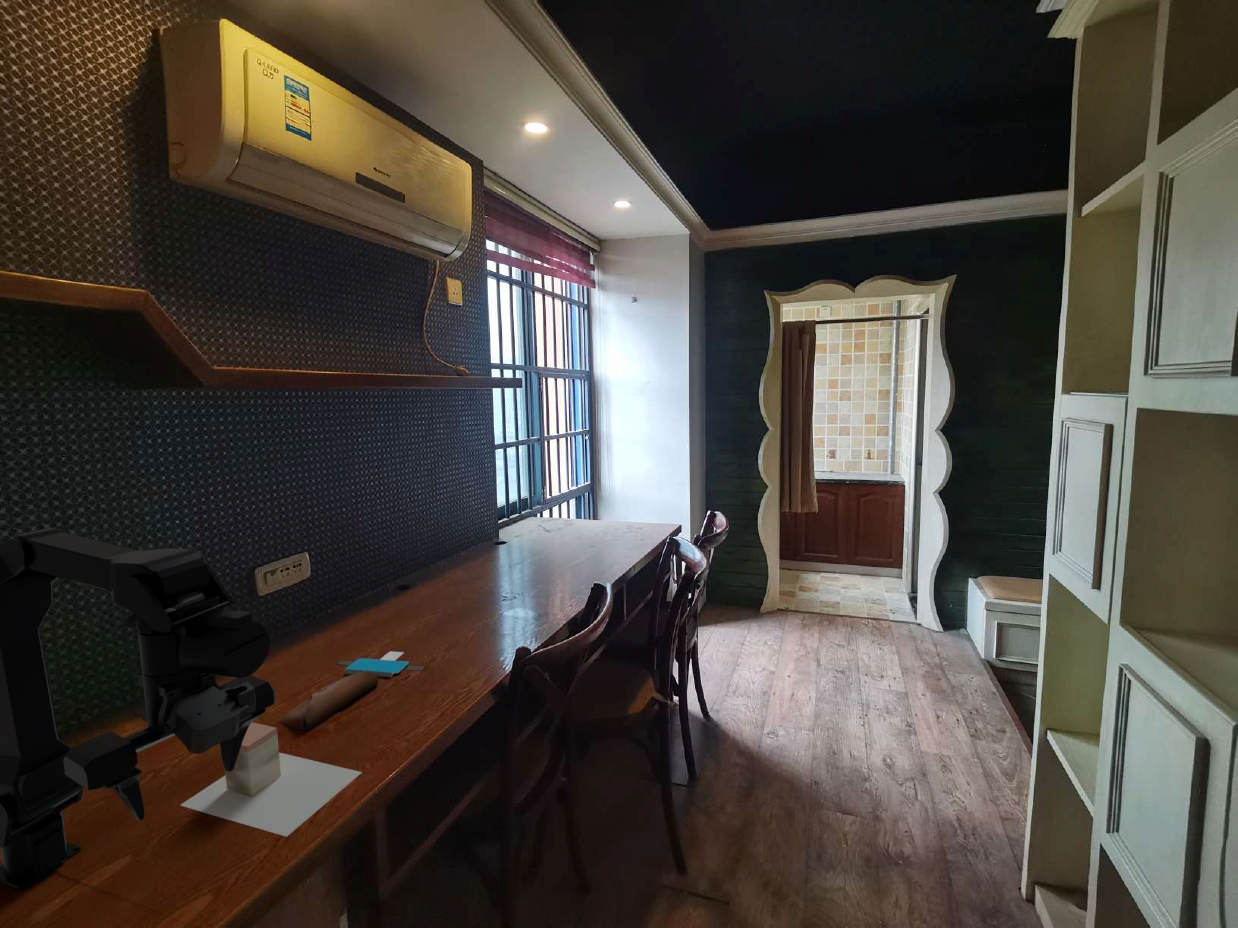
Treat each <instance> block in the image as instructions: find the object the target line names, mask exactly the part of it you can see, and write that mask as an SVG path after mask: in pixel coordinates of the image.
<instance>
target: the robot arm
mask: <svg viewBox="0 0 1238 928" xmlns="http://www.w3.org/2000/svg"><path fill="white" fill-rule="evenodd" d="M59 579H63V580H68V581H71V582H75V583H79V584H82V585H87V586H90V587H94V588H97V589H101V590H105V591H106V592H109V594H110V596H111V599H112V602H113V604H115V605H116V606H119V607H121V608H123V609H124V610H127V611H129V612H131V614H130V615H129V616H127V618H126V619H124V620H123V621H122V623H121V624H122V627H123V628H125V629H134V630H135V629H136V630H137V635H138V643H139V652H140V664H141V670H142V671H141V674H142V675H138V676H137V685H138V686H139V687H140V688H143V693H144V701H145V702H144V703H145V709H144V710H142V711H140V714H141V716H140V717H141V721H143V722H144V723H147V728H144V729H142V730H139V731H137V732H136V733H132V734H130V735H128V736H126V737H123V736H121V735H119V734H117V733H115V732H113V731H112V730H108V731H107V732H105V733H102V734H100V735H98V736H95V737H93V738H90V739H87V740H86V741H83V742H81V743H77V744H76V745H73V746H70V745H69V744H67V743H66V742H64V741H63V740H61V739H59V737H58V733H57V728H56V721H55V716H54V710H53V703H52V699H51V698H52V697H51V693H50V687H49V682H48V681H49V680H48V675H47V670H46V664H45V660H44V659H45V658H44V652H43V647H42V642H41V635H40V627H41V625H42V624H43V622H44V619H45V618H46V616H47V615H48V613H49V611H50V608H51V607H52V605H53V585H54V584H55V583H56V582H57V581H58V580H59ZM200 597H201V598H202V597H204V598H202V599H200V600H198V601H195V602H192V603H190V604H188V605H185V606H183V607H180V608H174V607H176V606H180V605H182V604H184V603H187V602H190V601H193V600H195V599H197V598H200ZM234 604H235V601H234V599H233V598H232V597H231V595H230V593H229V589H228V588H227V587H226V586H225V585H224V583H222V582H221V580H220V579H219V577H218V575H217V574H216V573H215V571H214V570H213V569H212V567H211V565H210V564H209V563H208V562H207V561H206V559H204V555H203V554H201V553H200V552H198V551H196V550H194V549H192V548H191V549H189V548H159V549H150V550H142V549H141V550H136V549H132V548H128V547H125V546H120V545H117V544H112V543H108V542H103V541H100V540H96V539H92V538H88V537H83V536H80V535H75V534H71V533H69V532H68V531H67V530H64V529H63V528H56V527H55V528H52V527H51V528H47V529H41V530H35V531H32V532H27V533H21V534H20V533H19V534H16V535H14V536H11V537H10V538H7V539H5V541H3V542H2V543H1V544H0V853H1V859H2V865H0V883H2V884H4V885H7V886H10V887H12V888H14V889H16V890H23V889H25V888H27V887H28V886H31V885H32V884H33V883H35V882H37V881H38V880H40V879H41V878H43V877H44V876H46V875H47V874H49V873H51V872H52V871H54V870H55V868H56V867H59V866H60V865H61V864H63V863H64V862H66V861H68V860H69V859H71V858H73V857H74V856H76V855H78V854H79V853H80V852H81V851H83V848H82V846H80V845H77V844H74V843H71V842H70V841H69V842H68V841H67V839H66V838H67V837H66V832H65V831H66V830H65V822H64V817H63V816H64V815H63V811H64V810H67V808H70V807H71V806H73V805H74V804H77V803H79V802H81V801H82V797H83V791H84V789H85V790H88V791H93V790H94V791H95V790H99V789H103V790H112V789H113V790H114V792H115V793H116V794H117V795H118V797H119V798H120V800H121V801H122V802H123V803H124V805H125V806H126V807H127V809H128V810H129V811H130V813H131V814H132V816H133V817H134V818H135V820H137V821H139V822H141V821H143V820H144V819H145V805H144V800H143V795H142V791H141V785H140V781H139V780H140V777H141V776H142V773H143V771H142V770H141V769H140V768H138V767H136V765H138V763H139V761H138V753H139V752H141V751H144V750H145V749H148V748H150V747H152V746H154V745H157V744H159V743H162V742H163V741H165V740H167V739H169V738H172V737H174V736H175V737H176V738H177V739H178V740H180V742H181V743H182V744H183V746H185V747H186V750H187V751H188V752H189V753H191V754H194V755H197V754H203V753H205V752H206V751H209V750H210V749H211V748H212V747H215V746H217V745H219V746H220V754H221V760H222V763H223V767H224V771H225V770H226V771H228V772H231V771H233V769H234V766H235V763H236V760H237V757H238V754H239V751H240V748H241V745H242V742H243V739H244V737H245V734H246V732H247V730H248V727H249V726H250V724H251V723H252V722H253V723H254V722H255V721H256V720H257V719H258V718H260V717H262V716H263V715H264V714H265V713H266V710H267V708H269V707H271V706H273V705H275V703H276V701H277V700H276V699H277V698H276V689H275V687H274V685H273V684H272V682H269V681H267V680H264V679H262V678H260V677H257V676H254V675H253V674H254V673H256V672H257V671H258V670H260V668H261V666H262V665H263V664H264V662H265V661H266V659H267V657H268V654H269V651H270V647H271V637H270V634H269V633H268V631H267V629H266V628H265V626H264V625H263V624H260V622H254V621H253V613H252V612H251V611H247V610H238V611H230V610H226V609H228V608H230V607H233V606H235V605H234ZM216 676H221V677H222V676H223V677H228V678H234V679H231V680H229V681H226V682H224V683H221V684H219V685H218V684H217V680H216Z"/></svg>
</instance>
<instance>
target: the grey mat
mask: <svg viewBox="0 0 1238 928" xmlns="http://www.w3.org/2000/svg"><path fill="white" fill-rule="evenodd" d="M279 757H280V769H281V776H280V777H279V778H277V779H276V780H275V781H273V782H272V783H271V784H269V785H268V786H266V787H265V788H264V789H262V790H261V791H260V792H258V793H257V794H256V795H254V796H253V797H251V796H247V795H243V794H240V793H236V792H232V791H229V790H227V784H226V774H225V775H224V776H222V777H220V778H219V779H217V780H216V781H215V782H213V783H211V784H210V785H208V786H207V787H205V788H204V789H202V790H201V791H199V792H198V793H196V794H195V795H194V796H191V797H190V798H188V799H187V800H186V801H184V802H183V803H181V804H179V806H180V807H183V808H188V809H189V810H194V811H196V812H197V811H198V812H201V813H203V814H208V815H210V816H215V817H217V818H221V819H224V820H227V821H232V822H235V823H237V824H241V825H245V826H248V827H252V828H256V829H258V830H262V831H265V832H269V833H272V834H276V835H279V836H282V837H286V838H287V837H288V836H289V835H291V834H292V833H293V832H294V831H296V830H297V829H298V828H299V827H300V826H301V825H303V824H304V823H305V822H306V821H307V820H309V819H310V818H311V817H312V816H313V815H314V814H316V813H317V812H318V811H319V810H320V809H321V808H322V807H324V806H325V805H326V804H327V803H329V801H331V800H332V799H333V798H334V797H335V796H337V795H338V794H339V793H340V792H341V791H342V790H343V789H344V788H345V789H346V787H347V786H348V785H350V784H351V783H352V782H353V781H354V780H355V779H356V778H357V777H359V776H360V775H361V774H363V772H362V771H359V770H355V769H350V768H346V767H341V766H337V765H333V764H329V763H324V762H321V761H316V760H311V759H307V758H304V757H300V756H295V755H291V754H288V753H287V754H286V753H282V752H279Z"/></svg>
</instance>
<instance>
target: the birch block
mask: <svg viewBox="0 0 1238 928" xmlns="http://www.w3.org/2000/svg"><path fill="white" fill-rule="evenodd" d="M278 734H279V733H278V727H275V726H269V725H265V724H261V723H257V722H254V721H253V722H252V723H251V724H250V726H249V727H248V730H247V732H246V734H245V737H244V739H243V742H242V745H241V748H240V751H239V754H238V757H237V760H236V763H235V766H234V769H233V771H231V772H228V771H226V770H225V769H224V773H225V775H226V784H227V790H229V791H232V792H236V793H240V794H243V795H247V796H251V797H253V796H254V795H256V794H257V793H258V792H260V791H261V790H262V789H264V788H265V787H266V786H268V785H269V784H271V783H272V782H273V781H275V780H276V779H277V778H279V777H280V776H281V769H280V757H279V753H280V748H279V738H278V737H279V736H278Z"/></svg>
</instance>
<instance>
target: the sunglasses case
mask: <svg viewBox="0 0 1238 928" xmlns="http://www.w3.org/2000/svg"><path fill="white" fill-rule="evenodd" d="M378 684H379V678H378V676H377V675H376V674H375V673H374V672H372V671H364V672H360V673H356V674H349V675H348V676H345V677H343V678H340V679H338V680H337V681H334V682H332V683H330V684H328V685H326V686H324V687H322V688H320V689H319V690H317V691H315V692H313V693H312V694H311V695H310V697H309V698H307V699H306V700H304V701H303V702H301V703H299V704H298V705H297V706H296V707H294V708H292V709H291V710H290V711H288V712H287V713H286V714H284V715H283V716H281V718H279V719H278V720H277V722H278V723H280V724H282V725H285V726H288V727H290V728H295V729H298V730H302V731H306V733H307V732H309V731H311V730H312V729H314V728H315V727H317V726H318V725H319V724H320V723H322V722H323V721H325V720H326V719H327V718H328V717H329V716H331V715H333V713H335V712H336V711H337V710H340V709H341V708H342V707H344V706H346V705H347V704H349V703H350V702H351V701H353V700H354V699H357V698H358V697H359V696H361V695H362V694H364V693H365V692H367V691H369V690H370V689H372V688H373V687H375V686H377V685H378Z"/></svg>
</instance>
